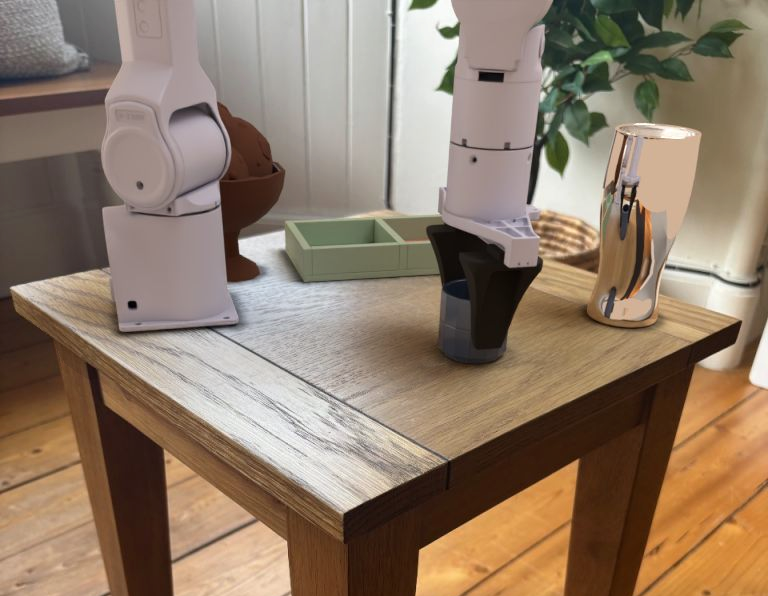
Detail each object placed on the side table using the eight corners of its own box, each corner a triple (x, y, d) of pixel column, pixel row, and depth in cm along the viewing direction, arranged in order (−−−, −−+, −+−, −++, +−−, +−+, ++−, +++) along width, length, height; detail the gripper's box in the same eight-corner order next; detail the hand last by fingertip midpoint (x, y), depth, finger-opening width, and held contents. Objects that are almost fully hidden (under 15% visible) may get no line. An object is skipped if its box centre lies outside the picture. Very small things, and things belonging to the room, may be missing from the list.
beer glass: (666, 333, 68) (711, 140, 60) (582, 325, 69) (615, 134, 61) (657, 305, 74) (697, 125, 66) (580, 298, 75) (610, 120, 67)
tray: (304, 282, 77) (303, 249, 75) (285, 251, 85) (284, 220, 83) (495, 270, 81) (498, 239, 80) (460, 242, 89) (462, 213, 88)
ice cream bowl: (232, 299, 72) (217, 113, 64) (149, 273, 78) (126, 98, 69) (311, 272, 79) (308, 101, 71) (231, 249, 85) (218, 88, 76)
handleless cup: (451, 368, 61) (456, 304, 58) (428, 341, 65) (432, 280, 63) (516, 362, 62) (524, 299, 60) (489, 336, 67) (496, 276, 64)
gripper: (594, 162, 51) (561, 365, 58) (504, 124, 62) (487, 297, 70) (489, 165, 49) (469, 374, 57) (416, 125, 60) (408, 303, 68)
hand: (473, 332), depth 63 cm, fingers closed on handleless cup, 5 cm apart
